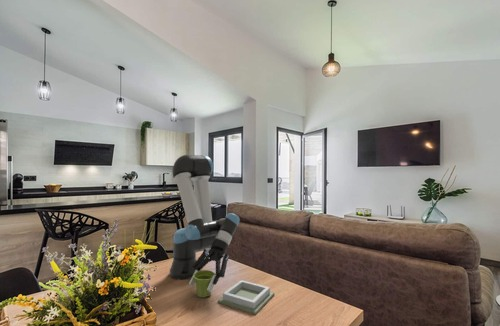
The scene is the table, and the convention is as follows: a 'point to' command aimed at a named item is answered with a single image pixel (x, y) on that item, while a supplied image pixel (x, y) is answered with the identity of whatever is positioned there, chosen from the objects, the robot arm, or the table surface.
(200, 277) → the plant pot
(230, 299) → the grey green square tray
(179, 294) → the table surface
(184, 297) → the table surface
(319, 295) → the table surface
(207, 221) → the robot arm
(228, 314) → the table surface
